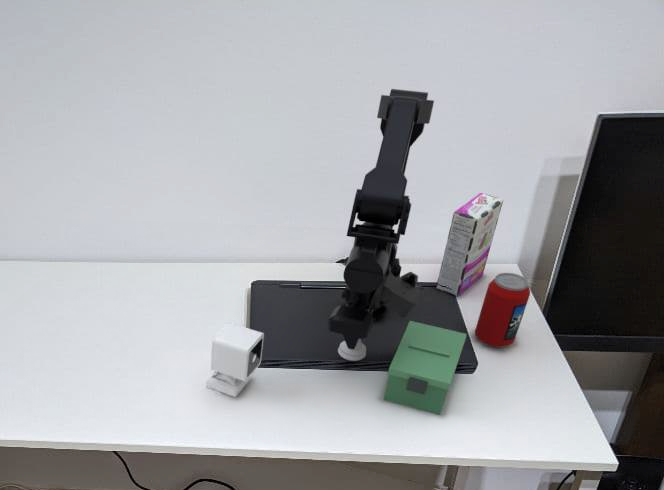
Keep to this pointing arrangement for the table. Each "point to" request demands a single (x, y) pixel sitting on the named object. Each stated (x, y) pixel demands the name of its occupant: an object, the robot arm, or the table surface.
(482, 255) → the candy bar box
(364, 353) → the chess piece
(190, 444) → the table surface
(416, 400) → the box
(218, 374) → the security camera
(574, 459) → the table surface
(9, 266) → the table surface
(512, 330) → the beverage can
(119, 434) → the table surface
